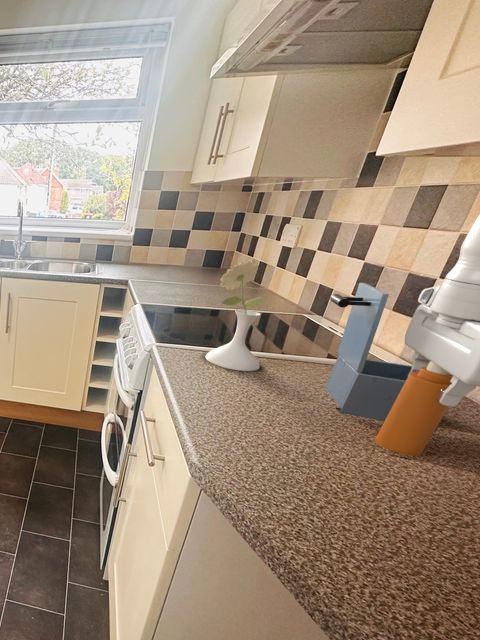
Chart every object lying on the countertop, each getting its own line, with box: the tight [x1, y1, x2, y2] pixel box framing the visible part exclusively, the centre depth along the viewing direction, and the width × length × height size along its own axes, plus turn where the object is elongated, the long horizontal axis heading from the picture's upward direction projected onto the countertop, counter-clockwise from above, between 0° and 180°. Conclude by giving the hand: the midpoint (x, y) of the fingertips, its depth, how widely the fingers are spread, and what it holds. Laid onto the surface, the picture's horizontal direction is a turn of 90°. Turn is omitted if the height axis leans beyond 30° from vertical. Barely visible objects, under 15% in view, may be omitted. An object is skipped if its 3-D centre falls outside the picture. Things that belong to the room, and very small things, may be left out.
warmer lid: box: [329, 282, 390, 372], centre depth 79 cm, size 14×12×5 cm
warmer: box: [324, 354, 412, 422], centre depth 80 cm, size 14×12×9 cm
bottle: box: [374, 361, 453, 461], centre depth 66 cm, size 6×6×18 cm
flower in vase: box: [205, 260, 264, 372], centre depth 96 cm, size 13×11×25 cm
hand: (429, 391), depth 65 cm, fingers open, 8 cm apart
